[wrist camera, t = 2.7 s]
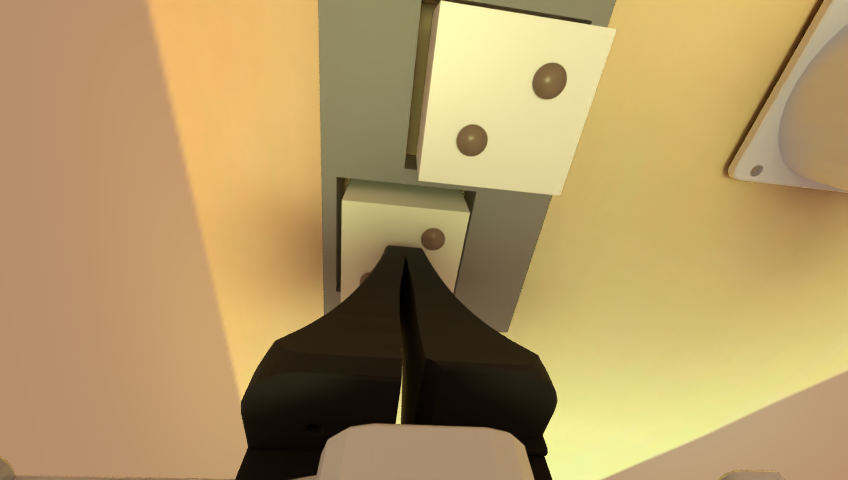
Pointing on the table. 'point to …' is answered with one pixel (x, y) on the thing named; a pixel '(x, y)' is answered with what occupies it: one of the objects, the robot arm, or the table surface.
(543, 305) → the table surface
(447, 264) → the tile three
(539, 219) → the tile board
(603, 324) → the table surface
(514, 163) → the tile two
